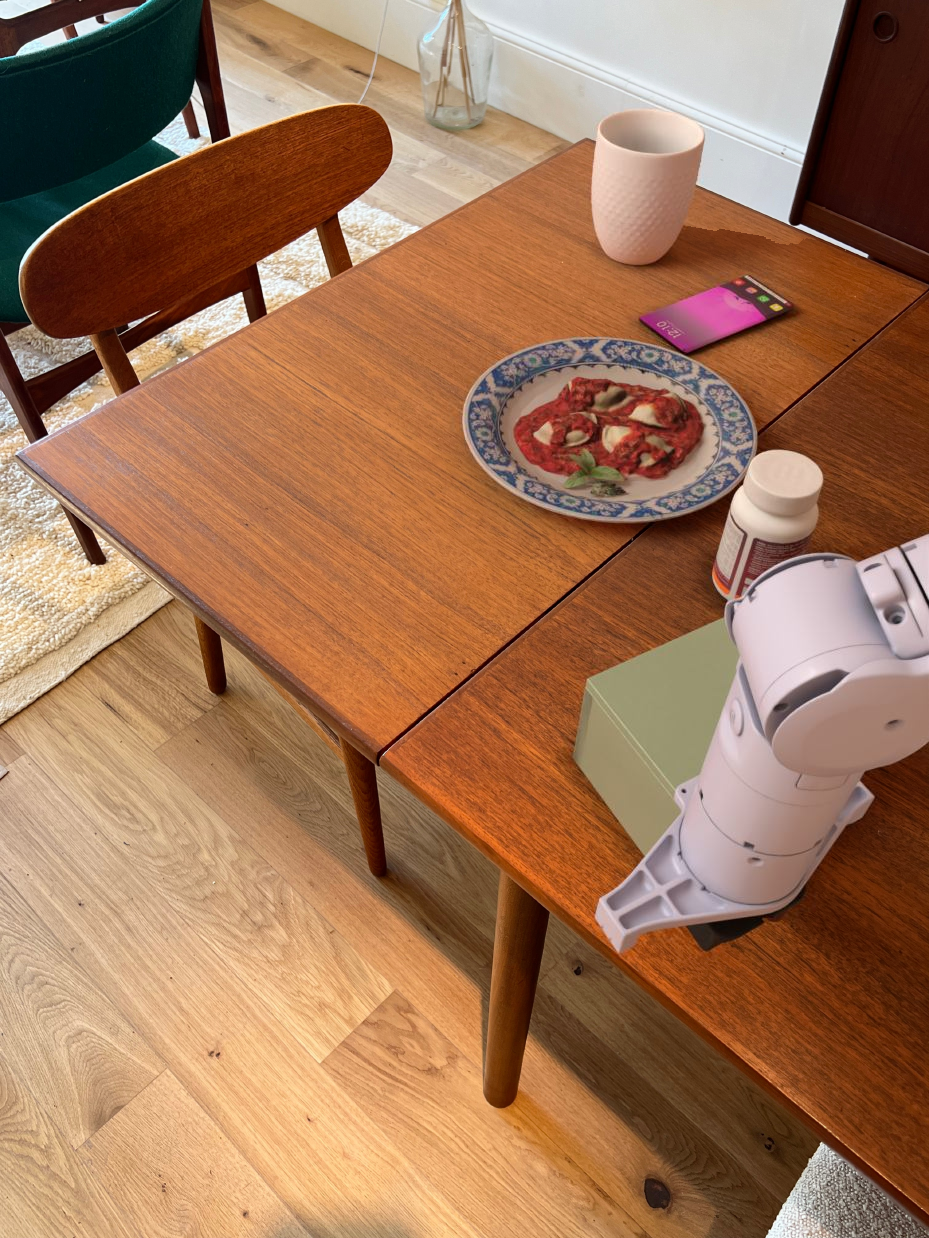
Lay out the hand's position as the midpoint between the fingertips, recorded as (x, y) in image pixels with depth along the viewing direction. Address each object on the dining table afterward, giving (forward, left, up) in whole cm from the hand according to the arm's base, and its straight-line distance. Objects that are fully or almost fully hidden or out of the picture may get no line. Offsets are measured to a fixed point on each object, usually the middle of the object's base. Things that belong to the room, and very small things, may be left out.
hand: (703, 930), depth 52 cm
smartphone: (+53, -45, -6) cm, 70 cm away
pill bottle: (+22, -24, -6) cm, 33 cm away
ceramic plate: (+42, -24, -6) cm, 49 cm away
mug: (+69, -46, -7) cm, 83 cm away
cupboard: (+10, -10, -6) cm, 16 cm away
